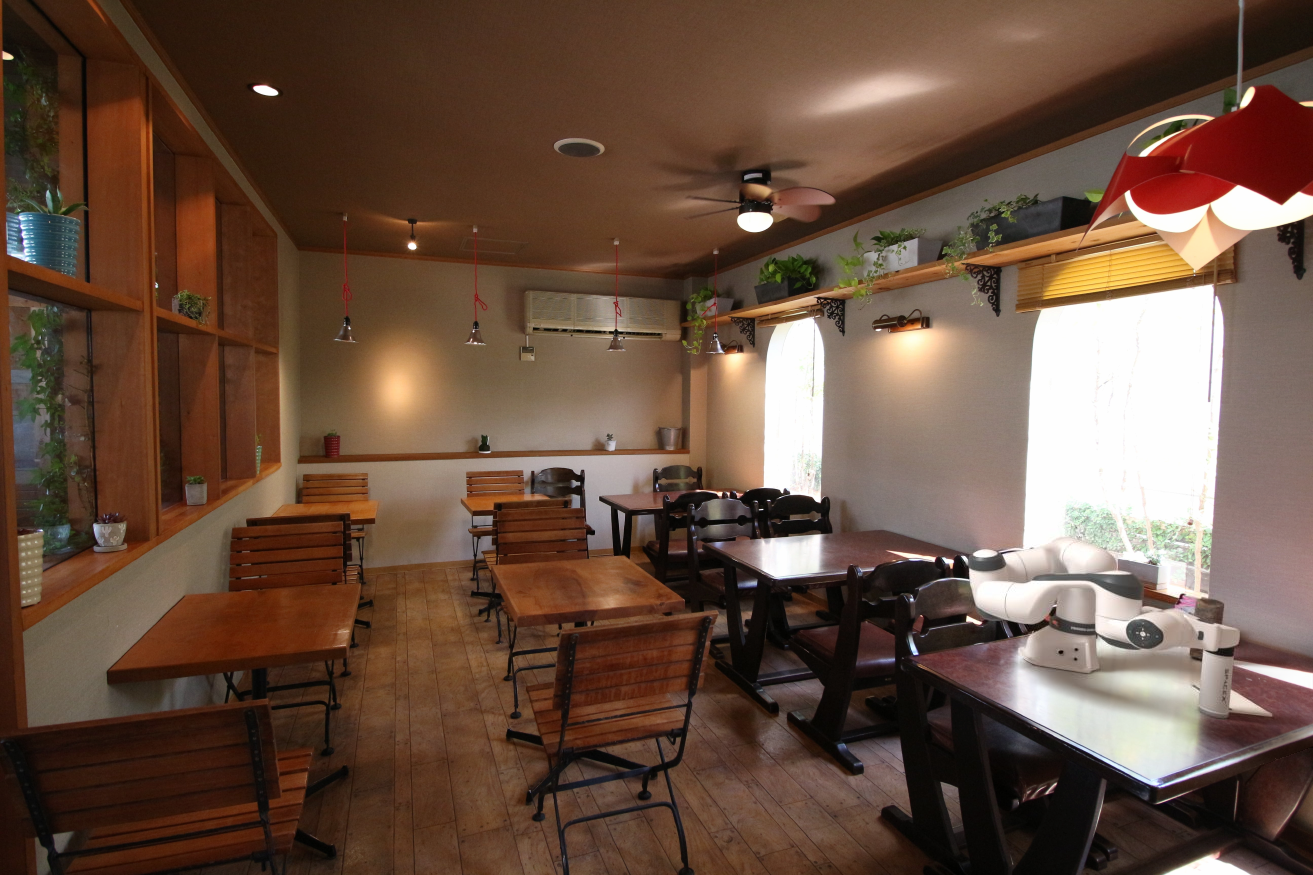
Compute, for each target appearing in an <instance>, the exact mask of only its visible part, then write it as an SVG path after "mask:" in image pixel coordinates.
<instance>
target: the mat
mask: <svg viewBox="0 0 1313 875" xmlns="http://www.w3.org/2000/svg"><path fill="white" fill-rule="evenodd" d="M1190 688H1191V689H1193V690H1194V691H1196V692H1197V693H1198V694H1199V693H1200V685H1195V684H1190ZM1229 713H1233V714H1242V715H1244V714H1245V715H1253V716H1262V717H1273V713H1271V712H1269V711H1267V710H1265V709H1264V708H1262V707H1260V706H1259V705H1257V704H1255V703H1254V702H1253V701H1251V700H1249V699H1247V698H1246V697H1245V696H1243V695H1241V694H1240V693H1238V692H1236V691H1234V690H1233V689H1231V693H1230V704H1229Z"/></svg>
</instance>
